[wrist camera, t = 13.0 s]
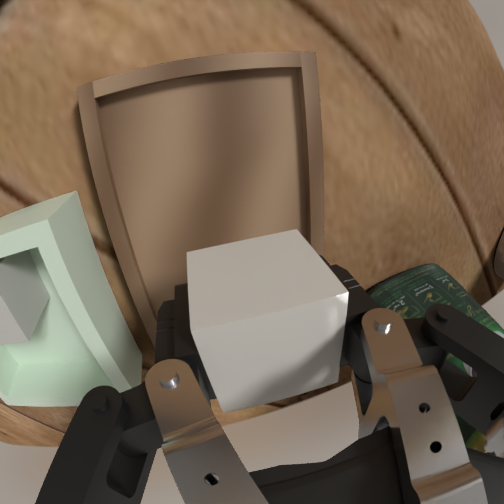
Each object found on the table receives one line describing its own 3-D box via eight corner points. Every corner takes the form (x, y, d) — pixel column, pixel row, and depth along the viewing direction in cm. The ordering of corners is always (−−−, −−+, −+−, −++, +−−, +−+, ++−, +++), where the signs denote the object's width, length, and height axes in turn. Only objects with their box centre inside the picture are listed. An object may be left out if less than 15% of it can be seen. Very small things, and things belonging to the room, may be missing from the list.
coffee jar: (346, 354, 24) (449, 526, 8) (350, 285, 20) (510, 505, 4) (428, 315, 25) (536, 446, 9) (442, 249, 21) (593, 390, 5)
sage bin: (77, 190, 13) (47, 219, 9) (142, 355, 19) (141, 401, 15) (-54, 241, 11) (-84, 271, 8) (19, 368, 17) (7, 404, 13)
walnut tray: (305, 55, 12) (315, 51, 11) (313, 317, 21) (320, 328, 20) (84, 88, 11) (76, 87, 9) (162, 352, 19) (162, 364, 18)
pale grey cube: (296, 229, 11) (348, 291, 7) (300, 312, 13) (337, 382, 9) (186, 252, 10) (190, 330, 7) (210, 333, 12) (223, 413, 9)
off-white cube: (23, 237, 12) (-10, 275, 9) (50, 296, 14) (29, 341, 11) (-19, 252, 12) (-51, 288, 8) (7, 305, 14) (-16, 346, 10)
